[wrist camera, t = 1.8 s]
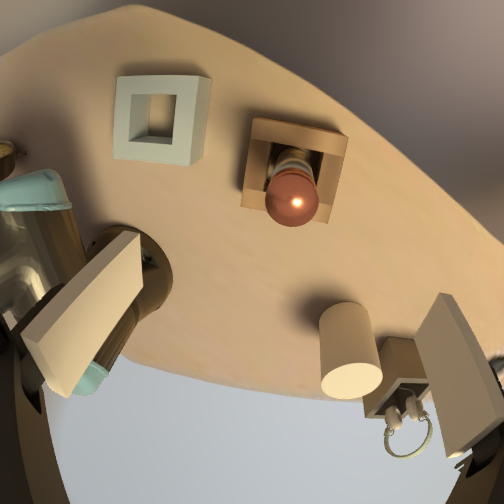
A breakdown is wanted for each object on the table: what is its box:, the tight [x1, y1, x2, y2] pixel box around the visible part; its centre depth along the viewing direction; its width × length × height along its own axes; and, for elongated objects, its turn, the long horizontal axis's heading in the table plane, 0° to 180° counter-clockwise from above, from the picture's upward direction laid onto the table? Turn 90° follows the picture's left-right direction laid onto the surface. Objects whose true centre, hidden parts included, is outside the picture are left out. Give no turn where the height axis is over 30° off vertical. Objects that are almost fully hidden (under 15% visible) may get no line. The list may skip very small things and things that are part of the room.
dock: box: [113, 75, 212, 166], centre depth 30 cm, size 10×10×5 cm
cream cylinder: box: [319, 302, 383, 399], centre depth 38 cm, size 8×8×12 cm
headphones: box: [384, 386, 432, 459], centre depth 38 cm, size 8×4×20 cm, turn 136°
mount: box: [240, 117, 349, 224], centre depth 32 cm, size 10×10×4 cm
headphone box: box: [363, 337, 430, 419], centre depth 43 cm, size 8×12×9 cm
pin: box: [265, 148, 319, 227], centre depth 27 cm, size 4×4×14 cm
